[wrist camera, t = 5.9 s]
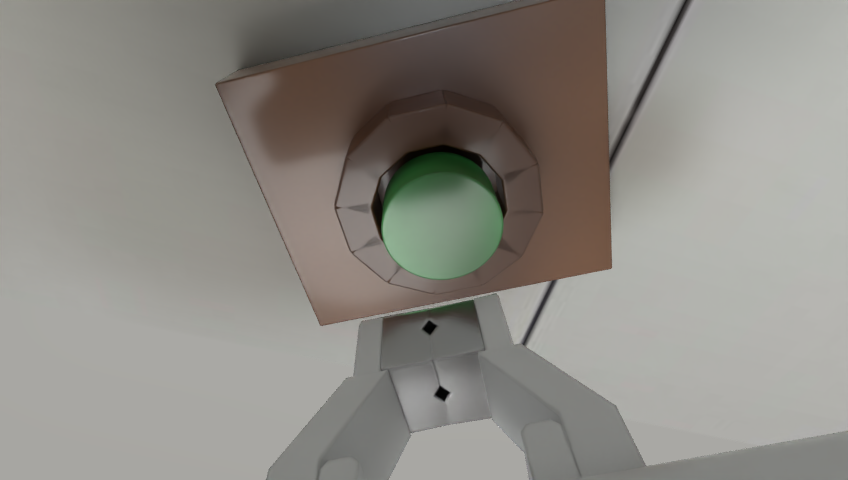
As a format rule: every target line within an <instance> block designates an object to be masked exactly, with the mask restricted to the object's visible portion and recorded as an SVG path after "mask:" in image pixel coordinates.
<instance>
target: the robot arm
mask: <svg viewBox="0 0 848 480" xmlns="http://www.w3.org/2000/svg"><path fill="white" fill-rule="evenodd" d="M488 418H492V420H493V421H494V422H495V423H496V424H497V425H498V426H499V427H500V428H501V429H502V430H503V432H504V433H505V434H506V435H507V436H508V437H509V438H510V439H511V440H512V441H513V442H514V443H515V444H516V445H517V446H518V447H519V448H520V449H521V450H522V451H523V452H524V454H525V459H526V465H527V471H528V477H529V480H848V431H844V432H838V433H832V434H827V435H821V436H815V437H809V438H804V439H798V440H792V441H787V442H781V443H775V444H769V445H764V446H758V447H752V448H747V449H741V450H735V451H729V452H724V453H719V454H713V455H707V456H701V457H695V458H690V459H684V460H678V461H672V462H667V463H661V464H656V465H650V466H646V465H645V463H644V461H643V459H642V457H641V455H640V453H639V451H638V449H637V447H636V445H635V443H634V441H633V439H632V437H631V435H630V433H629V431H628V429H627V427H626V425H625V423H624V421H623V419H622V417H621V415H620V413H619V411H618V409H617V407H616V405H614V404H612V403H611V402H609V401H608V400H606V399H605V398H603V397H602V396H600V395H599V394H597V393H596V392H594V391H593V390H591V389H589V388H588V387H586V386H585V385H583V384H582V383H580V382H579V381H577V380H576V379H574V378H573V377H571V376H570V375H568V374H567V373H565V372H563V371H562V370H560V369H559V368H557V367H556V366H554V365H553V364H551V363H550V362H548V361H547V360H545V359H544V358H542V357H540V356H539V355H537V354H536V353H534V352H533V351H531V350H530V349H528V348H527V347H525V346H524V345H522V344H516V345H514V344H513V341H512V338H511V335H510V331H509V328H508V325H507V322H506V319H505V315H504V312H503V309H502V306H501V303H500V299H499V296H498V295H497V294H492V295H487V296H483V297H479V298H474V300H469V301H464V302H459V303H454V304H449V305H445V306H440V307H435V308H430V309H423V310H418V311H412V312H407V313H401V314H396V315H390V316H385V317H380V318H375V319H370V320H365V321H362V322H361V323H360V325H359V330H358V339H357V348H356V357H355V365H354V375H353V377H349V378H346V379H345V380H344V381H343V383H342V384H341V385H340V386H339V387H338V389H337V390H336V391H335V392H334V393H333V394H332V396H331V397H330V398H329V399H328V401H326V403H325V404H324V405H323V406H322V407H321V408H320V410H319V411H318V412H317V413H316V415H315V416H314V417H313V418H312V419H311V420H310V421H309V423H308V424H307V425H306V426H305V427H304V428H303V430H302V431H301V432H300V433H299V434H298V436H297V437H296V438H295V439H294V440H293V442H292V443H291V444H290V445H289V446H288V447H287V449H286V450H285V451H284V452H283V453H282V454H281V456H280V457H279V458H278V459H277V460H276V461H275V463H274V464H273V465H272V466H271V467H270V468H269V471H268V475H267V479H266V480H388V479H389V478H390V476H391V473H392V472H393V470H394V468H395V466H396V464H397V462H398V460H399V458H400V456H401V454H402V452H403V450H404V448H405V446H406V444H407V442H408V441H409V438H410V436H411V435H410V433H414V432H418V431H423V430H427V429H432V428H437V427H441V426H446V425H450V424H457V423H463V422H469V421H475V420H482V419H488Z"/></svg>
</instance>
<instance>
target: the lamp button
mask: <svg viewBox="0 0 848 480" xmlns="http://www.w3.org/2000/svg"><path fill="white" fill-rule="evenodd" d="M503 225H504V222H503V214H502V210H501V207H500V205H499V202H498V200H497V197H496V194H495V192H494V189H493V187H492V184H491V182H490V180H489V178H488V176H487V175H486V173H485V172H484V171H483V170H482V169H481V168H480V167H479V166H478V165H477V164H476V163H474V162H473V161H471V160H470V159H468V158H466V157H464V156H461V155H458V154H454V153H448V152H434V153H427V154H424V155H420V156H418V157H416V158H413V159H412V160H410V161H408V162H407V163H405V164H404V165H403V166H401V167H400V168H399V169H398V170H397V171H396V172H395V174H394V175H393V176H392V178H391V180H390V181H389V183H388V185H387V188H386V191H385V195H384V203H383V212H382V222H381V233H382V238H383V242H384V245H385V247H386V249H387V251H388V253H389V255H390V256H391V257H392V258H393V260H394V261H395V262H396V263H397V264H398V265H399V266H401V267H402V268H403V269H405V270H406V271H408V272H410V273H412V274H414V275H416V276H419V277H422V278H426V279H432V280H448V279H454V278H458V277H462V276H465V275H467V274H469V273H471V272H473V271H475V270H477V269H478V268H480V267H481V266H482V265H483V264H485V263H486V262H487V261H488V260H489V259H490V258H491V256H492V255H493V254H494V252H495V251H496V249H497V247H498V245H499V243H500V240H501V238H502V233H503Z"/></svg>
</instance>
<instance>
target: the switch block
mask: <svg viewBox="0 0 848 480" xmlns="http://www.w3.org/2000/svg"><path fill="white" fill-rule="evenodd" d="M215 86H216V88H217V90H218V92H219V95H220V97H221V99H222V102H223V104H224V106H225V108H226V111H227V113H228V115H229V118H230V120H231V122H232V124H233V127H234V129H235V131H236V134H237V136H238V138H239V140H240V143H241V145H242V147H243V150H244V152H245V154H246V157H247V159H248V161H249V163H250V166H251V168H252V170H253V173H254V175H255V177H256V179H257V182H258V184H259V186H260V189H261V191H262V193H263V195H264V198H265V200H266V202H267V205H268V207H269V209H270V211H271V214H272V216H273V218H274V221H275V223H276V225H277V227H278V230H279V232H280V234H281V237H282V239H283V241H284V243H285V246H286V248H287V250H288V253H289V255H290V257H291V260H292V262H293V264H294V266H295V269H296V271H297V273H298V276H299V278H300V280H301V282H302V285H303V287H304V289H305V292H306V294H307V296H308V298H309V301H310V303H311V305H312V308H313V310H314V312H315V314H316V317H317V319H318V321H319V324H320V325H321V326H323V325H328V324H333V323H338V322H343V321H348V320H353V319H358V318H363V317H369V316H374V315H379V314H384V313H389V312H394V311H399V310H404V309H409V308H414V307H419V306H424V305H429V304H435V303H440V302H445V301H450V300H455V299H460V298H465V297H470V296H475V295H480V294H485V293H490V292H495V291H501V290H506V289H511V288H516V287H521V286H526V285H531V284H536V283H541V282H546V281H551V280H556V279H561V278H566V277H572V276H577V275H582V274H587V273H592V272H597V271H602V270H607V269H611V268H612V251H611V212H610V173H609V134H608V96H607V57H606V18H605V0H518V1H514V2H510V3H506V4H502V5H498V6H494V7H490V8H486V9H482V10H478V11H474V12H470V13H466V14H462V15H458V16H454V17H450V18H446V19H442V20H438V21H434V22H430V23H426V24H422V25H418V26H414V27H409V28H405V29H401V30H397V31H393V32H389V33H385V34H381V35H377V36H373V37H369V38H365V39H361V40H357V41H353V42H349V43H345V44H341V45H337V46H333V47H329V48H325V49H321V50H317V51H313V52H309V53H305V54H301V55H297V56H293V57H289V58H285V59H281V60H277V61H273V62H269V63H265V64H261V65H257V66H253V67H249V68H245V69H241V70H237V71H236V72H234V73H232V74H231V75H229V76H227V77H225V78H224V79H222V80H220V81H219V82H217V83H216V84H215ZM434 152H448V153H454V154H458V155H461V156H464V157H466V158H468V159H470V160H471V161H473V162H474V163H476V164H477V165H478V166H479V167H480V168H481V169H482V170H483V171H484V172H485V173H486V175H487V176H488V178H489V180H490V182H491V184H492V187H493V189H494V192H495V194H496V197H497V200H498V202H499V205H500V207H501V210H502V214H503V222H504V225H503V233H502V238H501V240H500V243H499V245H498V247H497V249H496V251H495V252H494V254H493V255H492V256H491V258H490V259H489V260H488V261H487V262H486V263H485V264H483V265H482V266H481V267H480V268H478V269H477V270H475V271H473V272H471V273H469V274H467V275H465V276H462V277H458V278H454V279H448V280H432V279H426V278H422V277H419V276H416V275H414V274H412V273H410V272H408V271H406V270H405V269H403V268H402V267H401V266H399V265H398V264H397V263H396V262H395V261H394V260H393V258H392V257H391V256H390V255H389V253H388V251H387V249H386V247H385V245H384V242H383V238H382V233H381V222H382V212H383V203H384V195H385V191H386V188H387V185H388V183H389V181H390V180H391V178H392V176H393V175H394V174H395V172H396V171H397V170H398V169H399V168H400V167H401V166H403V165H404V164H405V163H407V162H408V161H410V160H412V159H413V158H416V157H418V156H420V155H424V154H427V153H434Z"/></svg>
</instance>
